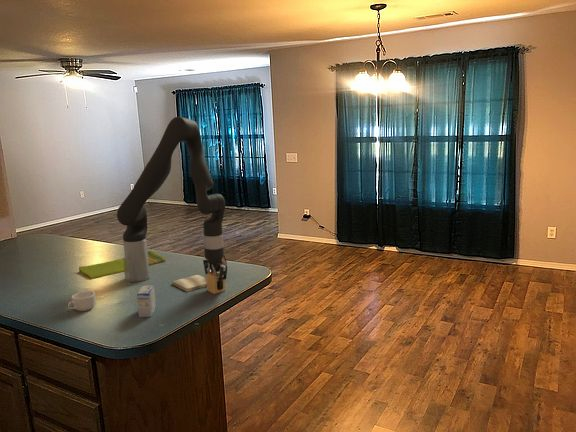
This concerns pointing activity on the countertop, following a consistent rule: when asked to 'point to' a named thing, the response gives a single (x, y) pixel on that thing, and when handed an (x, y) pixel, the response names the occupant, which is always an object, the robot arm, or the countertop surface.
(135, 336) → the countertop surface
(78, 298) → the teacup
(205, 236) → the robot arm
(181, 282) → the birch board
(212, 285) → the ochre block
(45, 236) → the countertop surface
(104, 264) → the dish towel
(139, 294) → the medicine box
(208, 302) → the countertop surface
